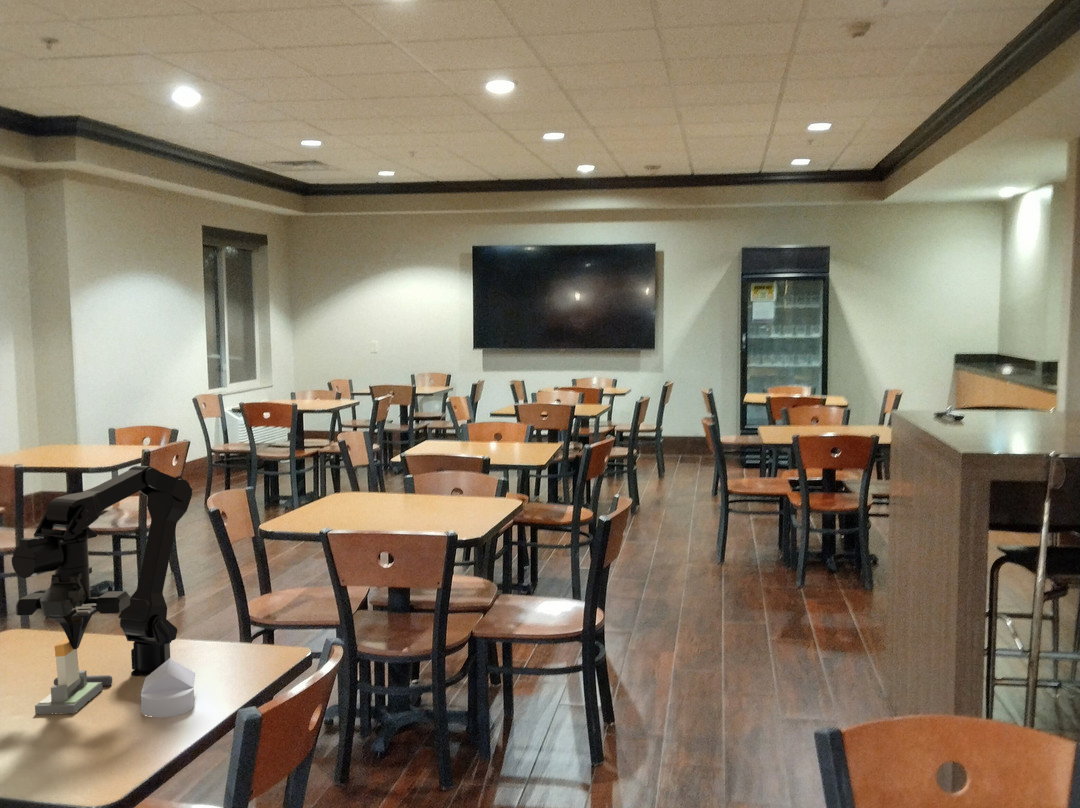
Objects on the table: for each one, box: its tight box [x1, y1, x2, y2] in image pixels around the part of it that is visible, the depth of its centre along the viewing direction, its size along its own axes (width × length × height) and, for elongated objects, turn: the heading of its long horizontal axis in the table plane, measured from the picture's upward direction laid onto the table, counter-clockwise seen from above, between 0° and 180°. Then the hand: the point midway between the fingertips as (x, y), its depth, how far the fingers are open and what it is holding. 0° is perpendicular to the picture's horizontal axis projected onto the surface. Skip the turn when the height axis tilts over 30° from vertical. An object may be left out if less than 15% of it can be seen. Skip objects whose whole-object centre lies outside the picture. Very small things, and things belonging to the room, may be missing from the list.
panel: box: [34, 669, 104, 715], centre depth 185 cm, size 7×12×4 cm, turn 1°
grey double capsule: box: [53, 674, 113, 687], centre depth 195 cm, size 11×3×2 cm, turn 91°
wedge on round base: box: [140, 657, 196, 718], centre depth 184 cm, size 9×7×13 cm
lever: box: [54, 637, 81, 694], centre depth 185 cm, size 2×6×10 cm, turn 1°
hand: (75, 648), depth 185 cm, fingers closed
